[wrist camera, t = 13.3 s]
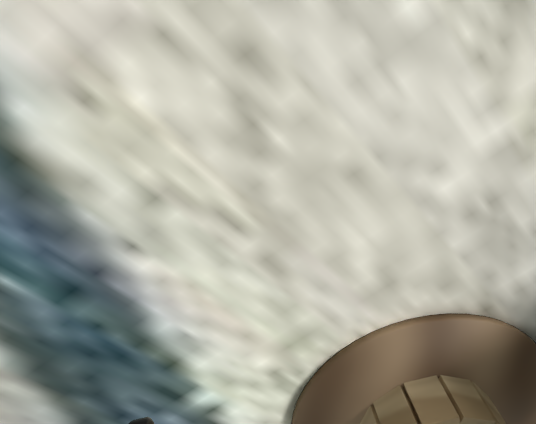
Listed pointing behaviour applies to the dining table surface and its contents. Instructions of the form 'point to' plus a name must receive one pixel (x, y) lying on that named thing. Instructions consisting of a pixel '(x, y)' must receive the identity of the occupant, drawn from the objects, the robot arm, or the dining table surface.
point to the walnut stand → (427, 376)
